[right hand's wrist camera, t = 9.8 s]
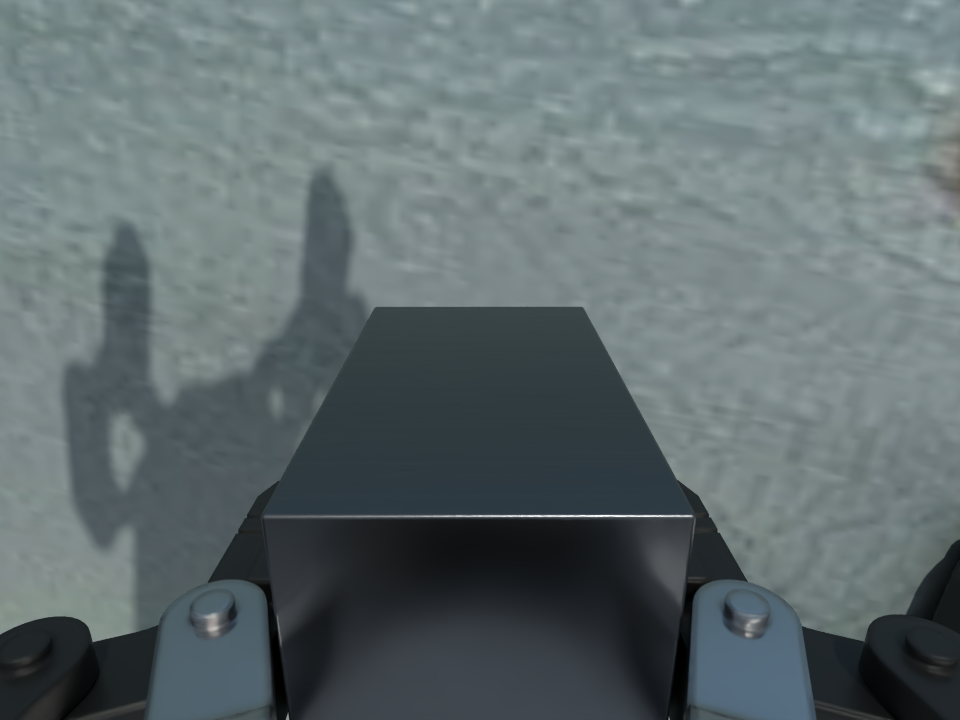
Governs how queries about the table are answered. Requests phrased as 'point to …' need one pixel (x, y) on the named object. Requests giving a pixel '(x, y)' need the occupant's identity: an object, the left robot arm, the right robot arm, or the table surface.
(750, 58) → the table surface
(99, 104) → the table surface
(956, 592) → the handgun
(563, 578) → the bar
